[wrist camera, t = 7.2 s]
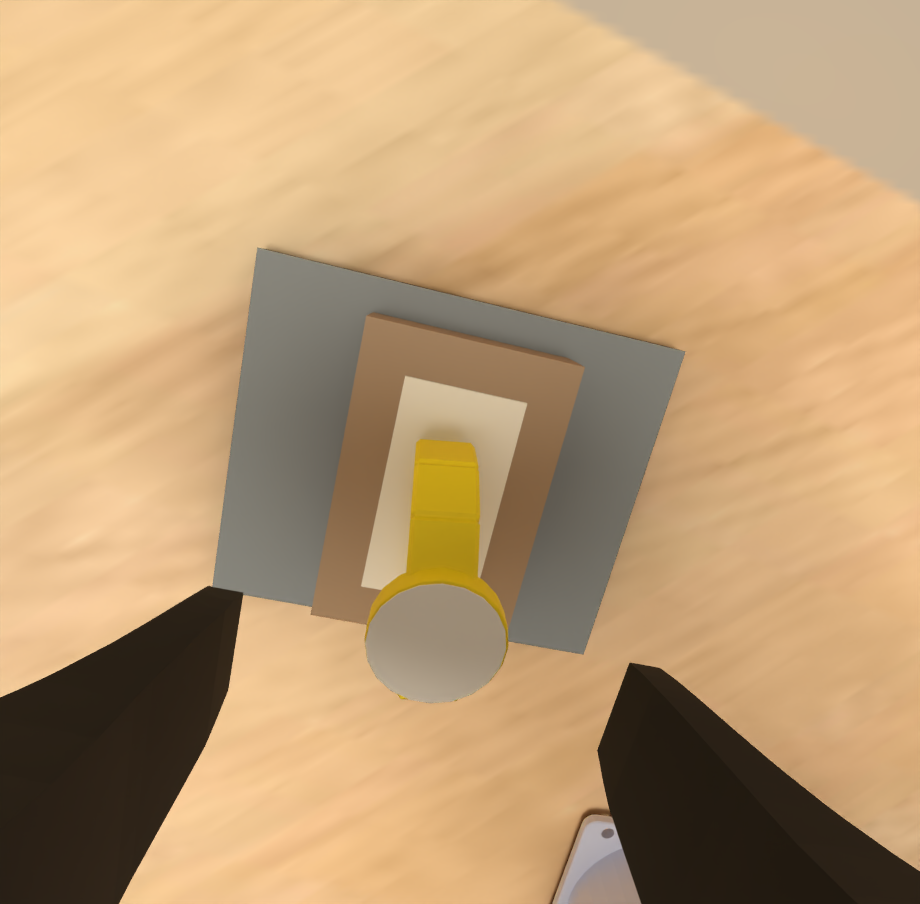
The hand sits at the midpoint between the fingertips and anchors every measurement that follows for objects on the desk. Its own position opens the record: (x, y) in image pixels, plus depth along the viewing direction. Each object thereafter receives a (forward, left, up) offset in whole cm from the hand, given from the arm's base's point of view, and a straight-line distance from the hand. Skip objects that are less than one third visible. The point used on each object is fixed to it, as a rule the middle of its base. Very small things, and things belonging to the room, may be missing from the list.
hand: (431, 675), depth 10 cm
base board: (0, -1, -9) cm, 9 cm away
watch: (0, 0, -7) cm, 7 cm away
